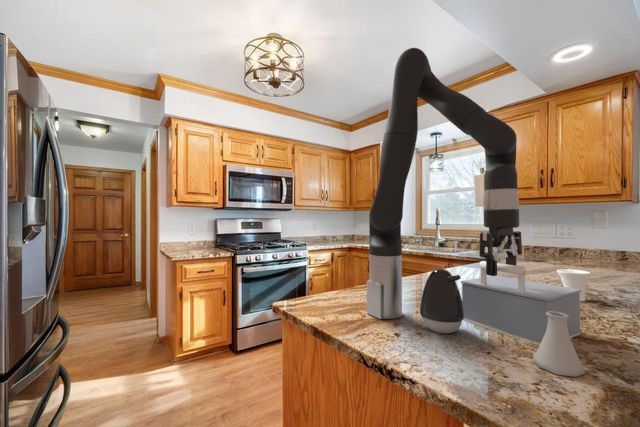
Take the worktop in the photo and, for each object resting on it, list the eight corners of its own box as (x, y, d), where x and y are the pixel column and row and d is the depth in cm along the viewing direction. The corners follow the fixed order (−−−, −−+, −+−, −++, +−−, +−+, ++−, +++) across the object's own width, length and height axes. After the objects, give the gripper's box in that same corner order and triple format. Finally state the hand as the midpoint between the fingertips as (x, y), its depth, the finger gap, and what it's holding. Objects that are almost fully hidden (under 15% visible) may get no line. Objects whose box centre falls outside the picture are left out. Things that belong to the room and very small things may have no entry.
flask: (524, 359, 58) (523, 308, 58) (558, 357, 59) (557, 307, 59) (556, 379, 51) (556, 320, 51) (595, 377, 51) (594, 319, 52)
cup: (587, 298, 103) (587, 269, 104) (594, 304, 96) (593, 273, 96) (555, 294, 108) (555, 267, 108) (559, 300, 100) (558, 270, 101)
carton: (547, 347, 63) (546, 301, 63) (462, 320, 80) (462, 284, 81) (580, 333, 71) (579, 293, 71) (496, 311, 88) (495, 278, 88)
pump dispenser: (445, 341, 66) (444, 273, 67) (411, 326, 76) (410, 267, 76) (474, 333, 71) (473, 270, 71) (438, 320, 80) (438, 264, 81)
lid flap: (547, 301, 63) (547, 270, 63) (460, 283, 81) (460, 259, 81) (580, 292, 71) (580, 264, 71) (495, 277, 89) (495, 255, 89)
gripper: (500, 207, 66) (501, 279, 66) (532, 208, 73) (533, 273, 73) (468, 208, 73) (469, 274, 72) (501, 209, 80) (502, 269, 79)
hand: (501, 274), depth 72 cm, fingers open, 8 cm apart
